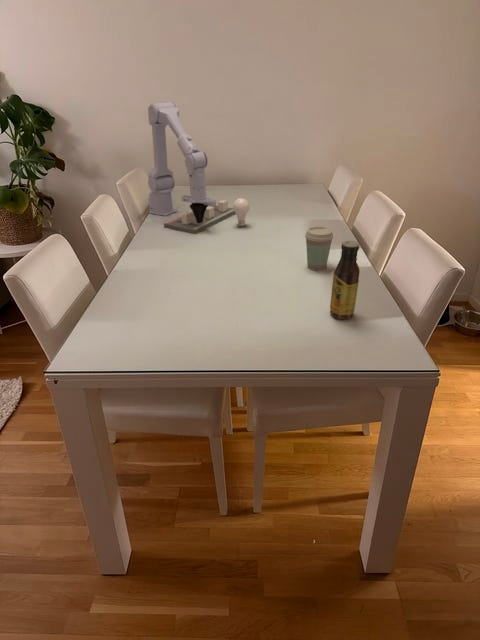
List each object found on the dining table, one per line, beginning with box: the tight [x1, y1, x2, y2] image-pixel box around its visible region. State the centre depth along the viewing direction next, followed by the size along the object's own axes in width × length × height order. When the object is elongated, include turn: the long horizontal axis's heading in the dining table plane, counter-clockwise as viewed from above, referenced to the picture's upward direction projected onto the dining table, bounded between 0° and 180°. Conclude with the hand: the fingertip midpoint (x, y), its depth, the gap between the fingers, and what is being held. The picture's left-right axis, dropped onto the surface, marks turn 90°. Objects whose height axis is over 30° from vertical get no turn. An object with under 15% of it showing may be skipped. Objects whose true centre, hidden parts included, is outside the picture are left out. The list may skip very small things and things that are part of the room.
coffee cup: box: [304, 226, 334, 272], centre depth 144 cm, size 8×8×12 cm
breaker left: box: [217, 199, 229, 212], centre depth 193 cm, size 2×4×4 cm
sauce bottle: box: [329, 240, 361, 320], centre depth 115 cm, size 7×6×20 cm
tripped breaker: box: [180, 211, 192, 225], centre depth 180 cm, size 2×4×4 cm
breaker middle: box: [204, 206, 214, 219], centre depth 185 cm, size 2×4×4 cm
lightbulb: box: [232, 197, 250, 228], centre depth 178 cm, size 6×6×11 cm
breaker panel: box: [163, 205, 236, 235], centre depth 188 cm, size 15×30×2 cm, turn 148°
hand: (199, 222), depth 177 cm, fingers closed
